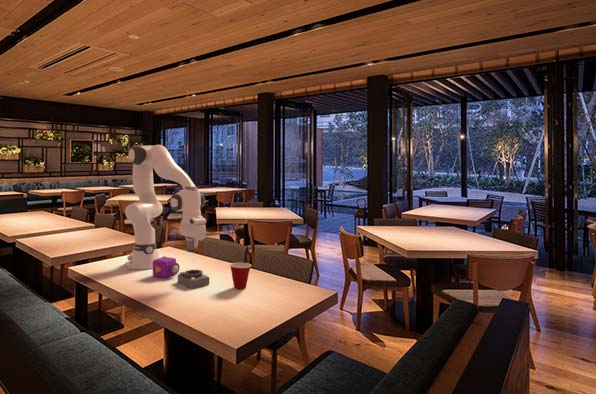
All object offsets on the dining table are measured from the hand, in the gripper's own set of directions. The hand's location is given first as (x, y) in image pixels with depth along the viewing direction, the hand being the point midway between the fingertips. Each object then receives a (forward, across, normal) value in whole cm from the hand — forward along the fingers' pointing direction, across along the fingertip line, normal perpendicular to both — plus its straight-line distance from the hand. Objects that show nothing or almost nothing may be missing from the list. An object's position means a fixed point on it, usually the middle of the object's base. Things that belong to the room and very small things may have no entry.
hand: (192, 246), depth 188 cm
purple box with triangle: (+20, -21, -4) cm, 29 cm away
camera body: (+20, 0, 0) cm, 20 cm away
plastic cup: (+20, +21, +15) cm, 32 cm away
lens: (+3, 0, 0) cm, 3 cm away
